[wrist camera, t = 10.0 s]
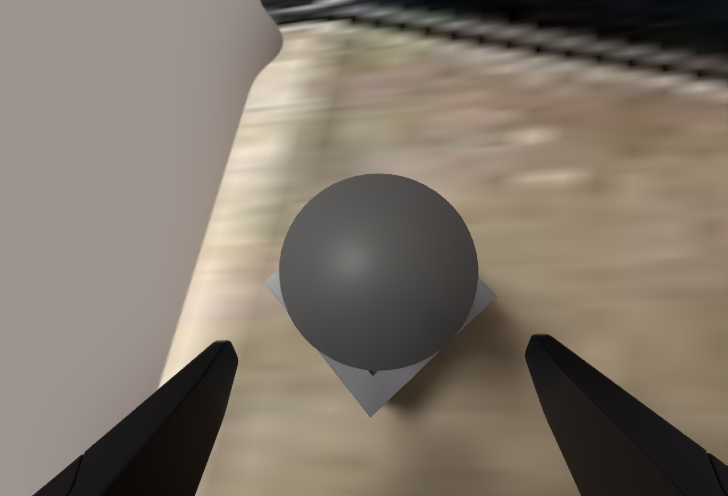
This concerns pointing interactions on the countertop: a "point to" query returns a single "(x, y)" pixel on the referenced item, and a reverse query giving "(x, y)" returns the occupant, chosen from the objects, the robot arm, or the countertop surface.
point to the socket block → (382, 385)
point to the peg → (378, 272)
